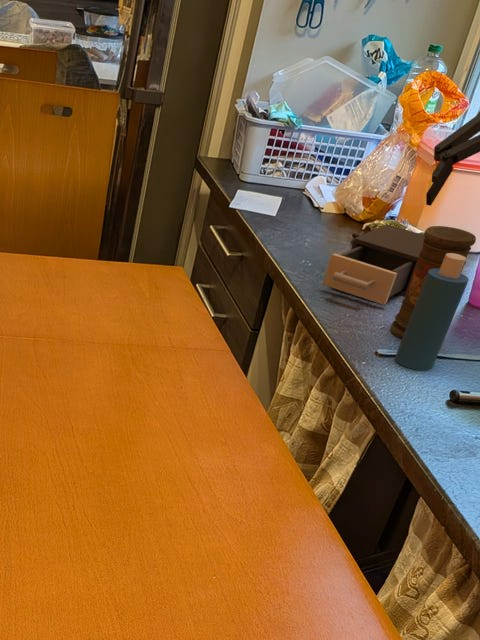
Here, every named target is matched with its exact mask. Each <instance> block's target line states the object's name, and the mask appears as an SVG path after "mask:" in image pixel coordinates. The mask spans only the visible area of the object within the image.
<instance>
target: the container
mask: <svg viewBox="0 0 480 640" xmlns="http://www.w3.org/2000/svg"><path fill="white" fill-rule="evenodd" d="M423 235H424V236H425V239H424V240H423V248H422V250H421V252H420V253H419V258H418V261H417V263H416V266H415V269H414V272H413V275H412V278H411V281H410V284H409V287H408V290H407V292H406V295H405V297H404V298H403V299H402V300H401V305H400V308H399V311H398V312H397V314H396V315H394V320H393V322H392V323H391V325H390V332H391V334H392V335H394V336H395V337H397V338H399V339H401V340H402V338H403V336H404V333H405V330H406V328H407V325H408V323H409V320H410V317H411V315H412V312H413V310H414V307H415V304H416V302H417V299H418V297H419V294H420V291H421V289H422V286H423V284H424V281H425V278H426V276H427V273H428V271H429V270H430V269H436V268H438V269H440V268H441V265H442V263H443V260H444V258H445V255H446V254H447V253H454V254H459V255H462V256H464V257H466V259H467V257H468V254H469V253H470V252H471V250H472V246H474V245H475V243H476V241H477V237H476V235H475V234H473V233H472V232H469V231H468V230H464V229H461V228H457V227H453V226H452V227H451V226H445V225H432V226H429V227H427V228H426V229H425V230H424V233H423ZM466 264H467V260H466V261H465V263H464V266H463V268H462V271H461V273H462V272H463V270H464V267H465V266H466Z"/></svg>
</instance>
